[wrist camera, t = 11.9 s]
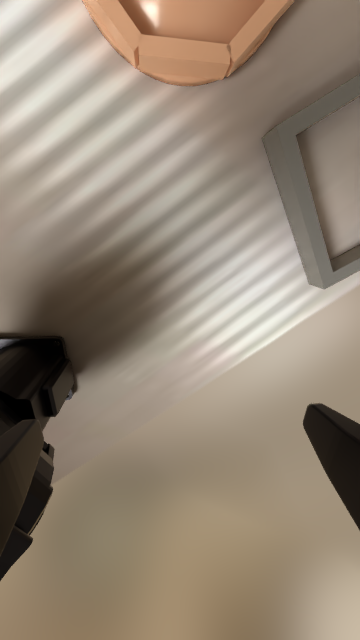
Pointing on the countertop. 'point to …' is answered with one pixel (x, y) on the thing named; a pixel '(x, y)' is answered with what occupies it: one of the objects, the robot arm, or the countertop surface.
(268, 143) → the charcoal tray
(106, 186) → the countertop surface
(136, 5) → the terracotta dish
